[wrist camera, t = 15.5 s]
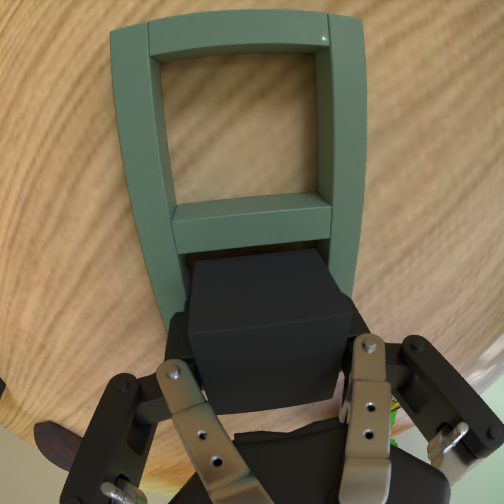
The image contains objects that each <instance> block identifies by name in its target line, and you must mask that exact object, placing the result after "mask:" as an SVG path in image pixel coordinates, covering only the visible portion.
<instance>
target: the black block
mask: <svg viewBox="0 0 504 504" xmlns="http://www.w3.org/2000/svg"><path fill="white" fill-rule="evenodd" d="M5 387H6V384H5V383H4V382H3V381H2V380H1V378H0V398H1V396H2V393H3V391H4V389H5Z"/></svg>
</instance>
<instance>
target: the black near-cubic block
mask: <svg viewBox="0 0 504 504" xmlns="http://www.w3.org/2000/svg"><path fill="white" fill-rule="evenodd" d="M352 314H353V312H352V310H351V308H350V306H349V305H348V303H347V301H346V299H345V297H344V296H343V294H342V292H341V290H340V289H339V287H338V285H337V284H336V282H335V280H334V278H333V277H332V275H331V273H330V272H329V270H328V268H327V266H326V265H325V263H324V261H323V260H322V258H321V256H320V255H319V253H318V251H317V250H316V249H315V248H312V249H303V250H293V251H284V252H275V253H265V254H256V255H246V256H237V257H228V258H218V259H209V260H199V261H195V263H194V270H193V279H192V288H191V297H190V306H189V316H188V327H187V336H188V339H189V343H190V346H191V349H192V352H193V356H194V359H195V362H196V365H197V368H198V371H199V375H200V378H201V381H202V384H203V387H204V390H205V393H206V395H207V398H208V401H209V403H210V405H211V407H212V408H213V410H214V412H215V414H216V415H225V414H237V413H247V412H256V411H264V410H271V409H278V408H285V407H291V406H297V405H302V404H308V403H313V402H318V401H323V400H328V399H331V398H332V397H333V394H334V390H335V387H336V383H337V379H338V376H339V372H340V368H341V364H342V360H343V356H344V351H345V347H346V343H347V338H348V334H349V329H350V324H351V319H352Z"/></svg>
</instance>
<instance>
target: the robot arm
mask: <svg viewBox="0 0 504 504" xmlns="http://www.w3.org/2000/svg"><path fill="white" fill-rule="evenodd" d="M342 294H343V296H344V297H345V299H346V301H347V303H348V305H349V306H350V308H351V310H352V312H353V314H352V319H351V324H350V329H349V334H348V338H347V343H346V347H345V351H344V356H343V360H342V364H341V368H340V372H341V371H343V373H344V380H343V387H342V396H341V404H340V411H339V416H338V417H334V418H330V419H325V420H321V421H316V422H313V423H311V424H308V425H306V426H304V427H301V428H299V429H297V430H294V431H292V432H288V433H284V432H269V431H254V432H245V433H234V439H235V440H233V441H231V439H230V438H229V436H228V434H227V433H226V431H225V429H224V428H223V426H222V424H221V422H220V421H219V419H218V417H217V415H216V414H215V412H214V410H213V408H212V407H211V405H210V403H209V402H208V401H207V400H206V399H205V397H204V395H203V393H202V391H203V390H204V387H203V384H202V381H201V378H200V375H199V371H198V368H197V365H196V362H195V359H194V356H193V352H192V349H191V346H190V343H189V339H188V336H187V327H188V316H189V306H190V300H186V301H185V306H184V311H183V312H175V314H174V315H173V317H172V318H171V319H170V324H169V330H168V337H167V344H166V350H165V358H164V362H163V363H162V364H160V365H159V367H158V368H157V370H156V372H155V373H153V374H152V375H149V376H145V377H142V378H139V379H136V377H135V376H134V375H132V374H129V373H121V374H118V375H116V376H114V377H113V378H112V379H111V380H110V381H109V383H108V384H107V387H106V389H105V391H104V393H103V395H102V397H101V399H100V401H99V404H98V406H97V408H96V410H95V412H94V414H93V417H92V419H91V421H90V423H89V426H88V428H87V430H86V433H85V435H84V437H83V440H82V442H81V444H80V447H79V449H78V452H77V454H76V456H75V459H74V461H73V464H72V466H71V469H70V471H69V474H68V477H67V479H66V482H65V485H64V488H63V490H62V493H61V496H60V501H59V502H60V504H147V498H146V496H145V494H144V493H143V492H142V491H141V490H140V489H138V488H139V484H140V481H141V477H142V474H143V470H144V467H145V464H146V460H147V457H148V454H149V451H150V447H151V444H152V441H153V438H154V434H155V431H156V428H157V425H158V422H160V421H164V420H167V419H170V418H172V421H173V423H174V425H175V428H176V430H177V432H178V434H179V437H180V439H181V441H182V443H183V445H184V447H185V449H186V452H187V454H188V456H189V458H190V460H191V462H192V464H193V466H194V468H195V470H196V472H195V473H194V474H193V475H192V476H191V478H190V479H189V480H188V481H187V482H186V484H185V485H184V486H183V487H182V488H181V489H180V491H179V492H178V493H177V494H176V495H175V496H174V497H173V499H172V500H171V501H170V502H169V503H168V504H449V501H450V495H451V493H450V491H451V490H450V487H451V486H452V485H454V484H455V483H456V482H457V481H458V480H459V479H460V478H462V477H463V476H464V475H465V474H466V473H467V472H468V471H469V470H470V469H472V468H473V467H474V466H476V465H477V464H478V463H480V462H481V461H483V460H484V459H485V458H487V457H488V456H489V455H490V454H492V453H493V452H494V451H495V450H497V449H498V448H499V447H500V446H501V445H502V444H503V443H504V424H503V423H502V422H501V421H500V419H499V418H498V417H497V416H496V415H495V414H494V412H493V411H492V410H491V409H490V408H489V406H488V405H487V404H486V403H485V402H484V401H483V399H482V398H481V397H480V396H479V395H478V394H477V393H476V392H475V390H474V389H473V388H472V387H471V386H470V385H469V384H468V383H467V382H466V380H465V379H464V378H463V377H462V376H461V375H460V374H459V373H458V372H457V371H456V370H455V369H454V367H453V366H452V365H451V364H450V363H449V362H448V361H447V360H446V359H445V358H444V357H443V356H442V355H441V354H440V353H439V352H438V351H437V350H436V349H435V348H434V346H433V345H432V344H431V343H430V342H429V341H428V340H427V339H425V338H424V337H422V336H419V335H409V336H407V337H406V338H405V339H404V340H403V342H402V344H400V343H385V342H384V341H383V340H382V339H381V338H380V337H379V336H377V335H375V334H371V332H370V331H369V329H368V327H367V325H366V324H365V322H364V320H363V318H362V317H361V315H360V313H359V312H358V310H357V308H356V307H355V305H354V303H353V301H352V300H351V298H350V297H348V296H347V295H346V294H344V293H342ZM391 393H392V395H393V396H394V397H395V399H396V400H397V401H398V403H399V404H400V405H401V406H402V408H403V409H404V410H405V412H406V413H407V414H408V416H409V417H410V418H411V420H412V421H413V422H414V424H415V425H416V426H417V428H418V429H419V430H420V432H421V433H422V434H423V436H424V437H425V439H426V440H427V441H428V442H429V444H428V447H427V453H428V459H429V460H430V461H431V465H430V464H428V463H426V462H424V461H422V460H420V459H418V458H416V457H415V456H413V455H411V454H409V453H407V452H406V451H404V450H402V449H400V448H398V447H397V446H395V445H393V444H391V443H390V432H391Z"/></svg>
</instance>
